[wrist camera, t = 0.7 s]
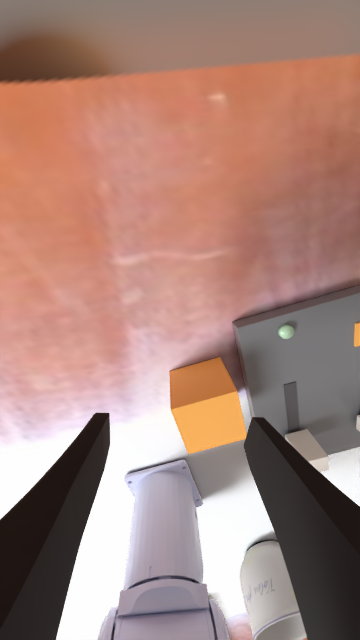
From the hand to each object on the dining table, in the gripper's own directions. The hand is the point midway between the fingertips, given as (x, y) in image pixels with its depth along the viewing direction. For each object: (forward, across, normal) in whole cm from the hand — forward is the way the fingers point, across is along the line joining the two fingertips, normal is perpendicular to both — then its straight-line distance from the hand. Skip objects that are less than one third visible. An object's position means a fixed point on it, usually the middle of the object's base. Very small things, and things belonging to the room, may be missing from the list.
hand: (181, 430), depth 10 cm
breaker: (+8, -15, +10) cm, 19 cm away
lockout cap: (+10, -3, +5) cm, 11 cm away
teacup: (+10, -19, +40) cm, 46 cm away
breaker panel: (+10, -16, +4) cm, 19 cm away
